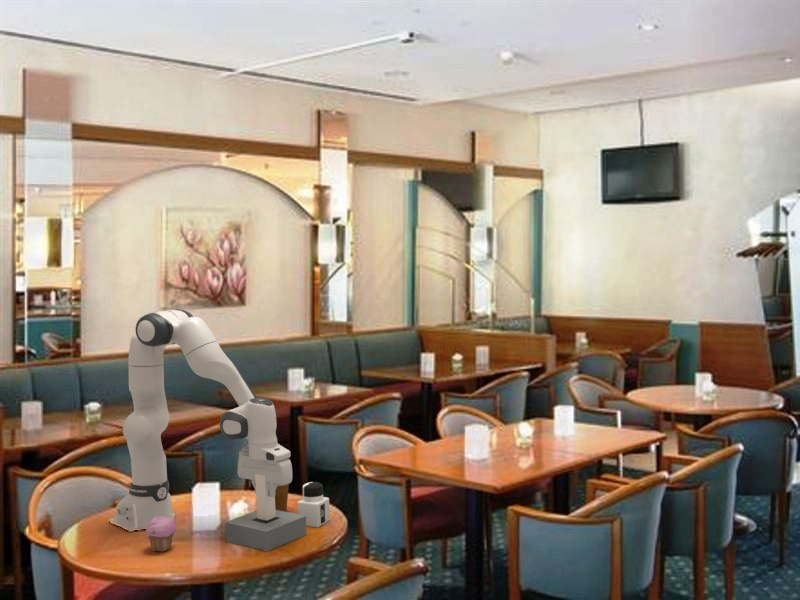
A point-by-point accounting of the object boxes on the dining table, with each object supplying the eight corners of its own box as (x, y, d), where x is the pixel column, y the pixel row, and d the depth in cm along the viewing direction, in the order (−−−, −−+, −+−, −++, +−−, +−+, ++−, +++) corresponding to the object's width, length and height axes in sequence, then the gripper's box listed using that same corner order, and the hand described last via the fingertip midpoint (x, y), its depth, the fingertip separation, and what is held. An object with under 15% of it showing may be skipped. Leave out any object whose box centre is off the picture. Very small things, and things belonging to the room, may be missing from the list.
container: (330, 520, 296) (328, 481, 295) (318, 527, 289) (317, 487, 288) (309, 518, 299) (308, 479, 298) (297, 525, 292) (296, 485, 291)
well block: (225, 541, 278) (225, 522, 278) (265, 525, 292) (264, 507, 292) (267, 551, 268) (266, 531, 267) (306, 534, 282) (305, 515, 282)
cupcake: (155, 544, 277) (153, 512, 276) (181, 545, 276) (180, 512, 275) (142, 554, 268) (140, 521, 268) (169, 555, 267) (168, 522, 266)
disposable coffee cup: (270, 506, 313) (269, 472, 312) (295, 508, 310) (294, 474, 309) (258, 514, 304) (256, 479, 303) (283, 516, 301) (282, 481, 300)
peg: (257, 518, 279) (255, 474, 278) (266, 515, 282) (264, 470, 281) (266, 520, 277) (264, 475, 276) (275, 516, 280) (273, 472, 279)
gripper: (231, 449, 282) (234, 493, 283) (280, 456, 270) (282, 502, 271) (246, 445, 287) (248, 488, 288) (294, 452, 275) (296, 496, 276)
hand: (265, 495), depth 279 cm, fingers closed on peg, 4 cm apart
